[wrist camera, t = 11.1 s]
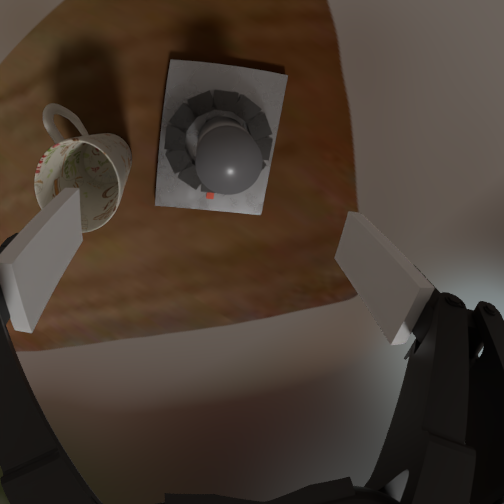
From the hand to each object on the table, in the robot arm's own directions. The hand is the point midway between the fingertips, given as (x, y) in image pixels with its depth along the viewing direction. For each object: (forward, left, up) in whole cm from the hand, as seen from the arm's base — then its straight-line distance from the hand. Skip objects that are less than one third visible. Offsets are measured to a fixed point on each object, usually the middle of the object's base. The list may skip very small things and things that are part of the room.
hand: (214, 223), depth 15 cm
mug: (-13, -1, -21) cm, 25 cm away
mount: (+1, +1, -21) cm, 21 cm away
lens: (+1, +1, -20) cm, 20 cm away
